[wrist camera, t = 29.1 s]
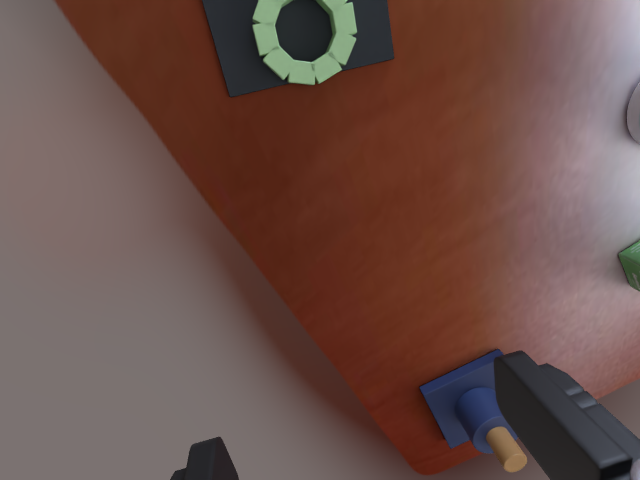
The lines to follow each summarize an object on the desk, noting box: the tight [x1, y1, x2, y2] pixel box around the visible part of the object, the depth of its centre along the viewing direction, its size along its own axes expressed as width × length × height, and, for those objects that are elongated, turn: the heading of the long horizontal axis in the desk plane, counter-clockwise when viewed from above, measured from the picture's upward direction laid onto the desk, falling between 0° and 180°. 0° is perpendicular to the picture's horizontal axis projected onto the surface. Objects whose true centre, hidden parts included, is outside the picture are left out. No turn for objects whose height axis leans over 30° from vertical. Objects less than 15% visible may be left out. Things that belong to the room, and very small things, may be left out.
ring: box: [252, 0, 357, 85], centre depth 26 cm, size 7×7×1 cm
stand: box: [419, 349, 527, 472], centre depth 38 cm, size 9×9×8 cm
